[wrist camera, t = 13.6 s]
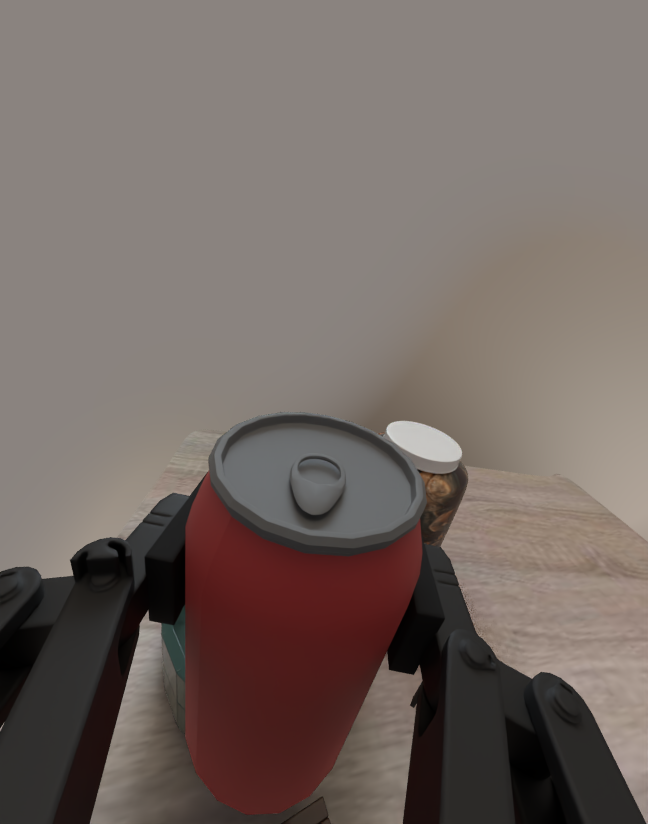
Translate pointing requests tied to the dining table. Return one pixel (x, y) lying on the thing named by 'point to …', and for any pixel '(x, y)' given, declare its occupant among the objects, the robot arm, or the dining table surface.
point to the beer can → (292, 599)
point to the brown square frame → (311, 814)
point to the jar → (433, 473)
